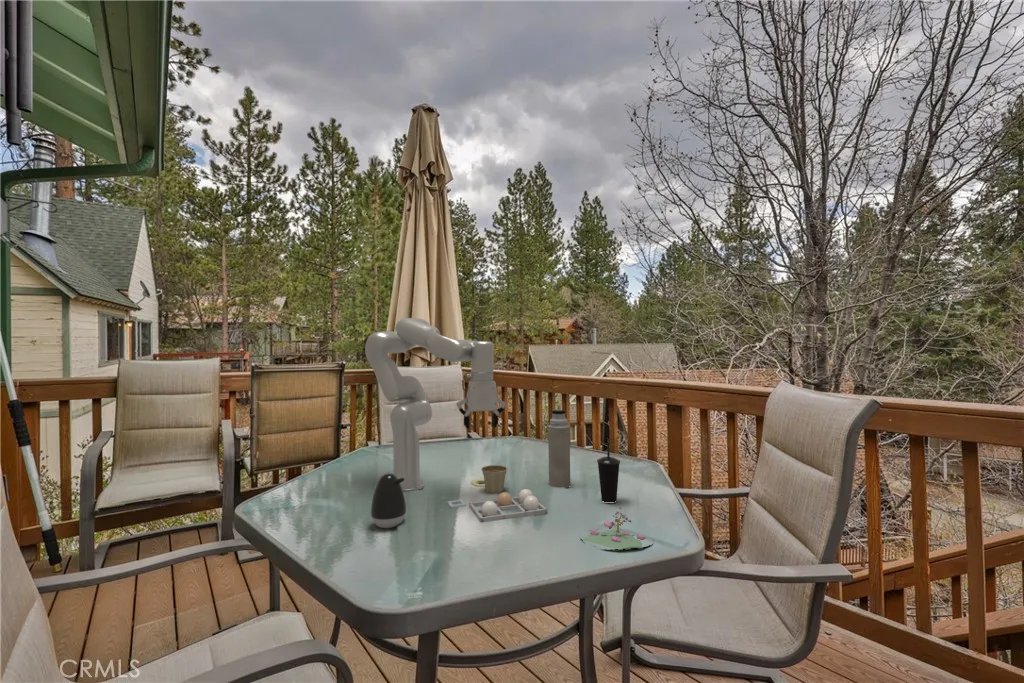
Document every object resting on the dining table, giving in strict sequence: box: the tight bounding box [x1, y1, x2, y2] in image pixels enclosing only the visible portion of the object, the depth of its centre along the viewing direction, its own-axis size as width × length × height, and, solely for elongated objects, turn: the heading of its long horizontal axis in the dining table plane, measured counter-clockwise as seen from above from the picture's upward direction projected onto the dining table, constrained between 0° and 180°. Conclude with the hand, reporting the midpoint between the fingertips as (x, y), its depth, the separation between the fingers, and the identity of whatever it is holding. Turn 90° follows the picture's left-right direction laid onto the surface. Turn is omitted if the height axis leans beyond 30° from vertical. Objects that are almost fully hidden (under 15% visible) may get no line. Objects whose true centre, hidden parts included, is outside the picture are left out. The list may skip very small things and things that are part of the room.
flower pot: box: [480, 464, 508, 494], centre depth 169 cm, size 9×9×9 cm
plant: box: [581, 507, 646, 551], centre depth 132 cm, size 25×21×9 cm
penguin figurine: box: [370, 473, 407, 529], centre depth 139 cm, size 10×10×15 cm
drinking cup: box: [596, 441, 621, 502], centre depth 157 cm, size 8×8×20 cm
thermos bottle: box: [547, 409, 571, 489], centre depth 176 cm, size 8×8×28 cm
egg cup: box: [447, 499, 467, 509], centre depth 154 cm, size 6×6×1 cm
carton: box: [468, 496, 548, 523], centre depth 148 cm, size 21×14×2 cm
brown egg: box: [496, 491, 512, 507], centre depth 151 cm, size 5×5×5 cm
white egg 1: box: [481, 500, 498, 517], centre depth 143 cm, size 5×5×5 cm
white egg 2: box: [517, 488, 534, 504], centre depth 154 cm, size 5×5×5 cm
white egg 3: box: [524, 495, 540, 511], centre depth 147 cm, size 5×5×5 cm
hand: (480, 427), depth 161 cm, fingers open, 9 cm apart
